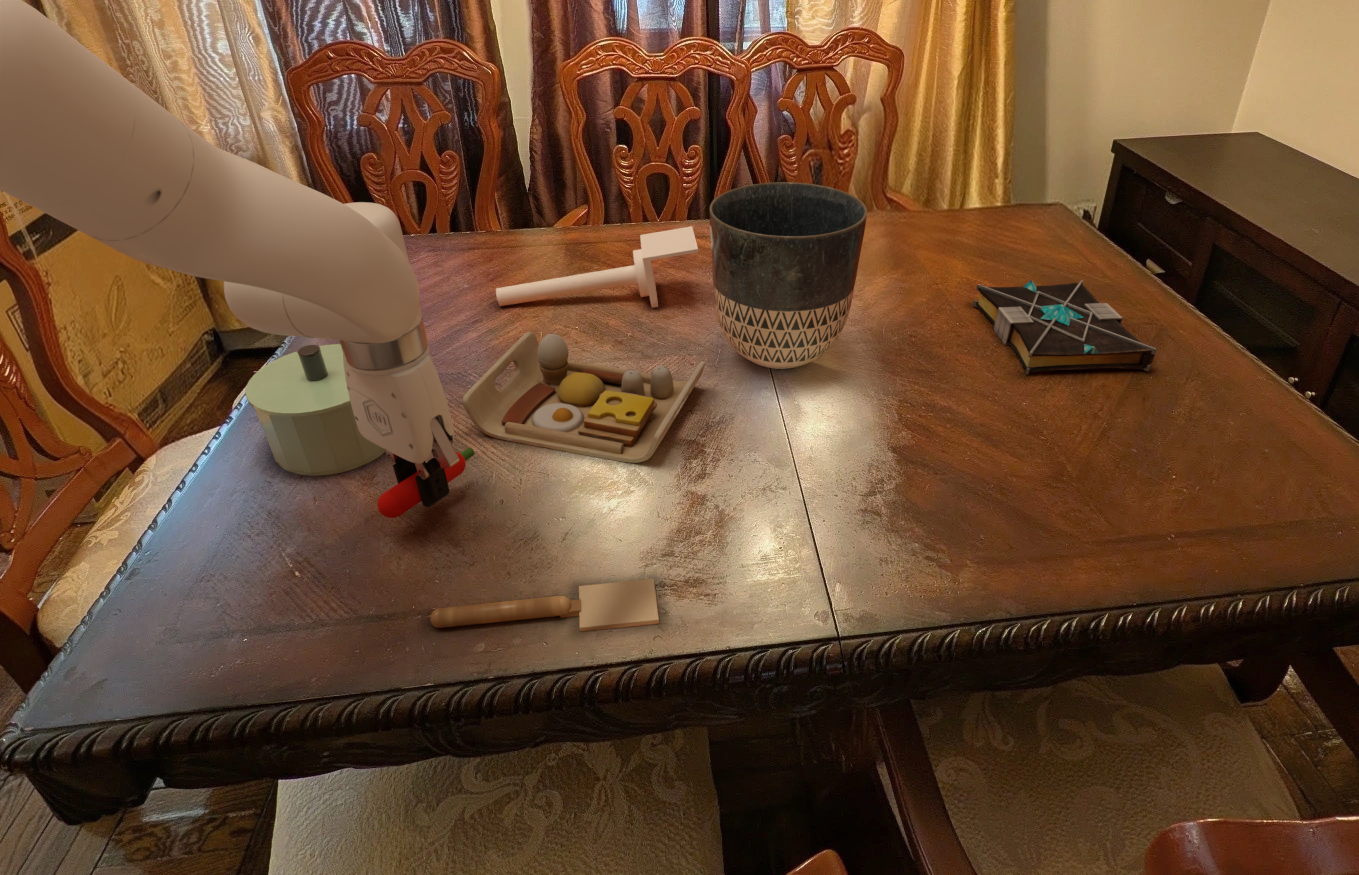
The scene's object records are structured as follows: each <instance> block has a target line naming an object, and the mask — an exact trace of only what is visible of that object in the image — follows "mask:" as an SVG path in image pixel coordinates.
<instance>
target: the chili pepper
mask: <svg viewBox="0 0 1359 875" xmlns="http://www.w3.org/2000/svg"><path fill="white" fill-rule="evenodd" d="M455 452H456V453H457V455H458V457H459V462H458V463H456V464H455V465H453V466H452V467H450V468H445V473H446V478H447V482H448V484H449V483H451V481H453V480H454V479H456V478H457V477H459V476H461V475H462V474H463V472H464V471H465V470H466V465H467V464H466V463H467V462H466V461H468V460H469V459H471V458H472V457H473V456H475V451H474V449H473V448H471V447H467V448H466V449H465V450H463V451H462V452H458V451H455ZM417 475H419V474H418V472H416V473H414V474H413V475H411V476H409V477H408V478H406V479H405V480H403V481H402V482H400V483H399V484H398V483H397V484H396V485H394V486H393V487H391V488H390V489H388V490H386V491H385V492H383V493H382V494H381V495H380V496H379V498H378V499H377V510H378V512H379V513H380V514H381V515H382V516H383V517H385V518H388V519H396V518H398V517H401V516H402V515H404V513H406V512H408V511H409V510H410V509H412V508H414V507H415V506H417V505H419V503H422V501H421V497H420V493H419V490H418V486H417V483H416V479H415V477H416V476H417Z"/></svg>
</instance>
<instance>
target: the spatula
mask: <svg viewBox="0 0 1359 875" xmlns="http://www.w3.org/2000/svg"><path fill="white" fill-rule="evenodd" d="M658 610H659V609H658V602H657V594H656V585H655V579H654V578H647V579H635V580H626V581H615V582H605V583H594V584H588V585H587V584H584V585H579V586H578V599H569V597H567V596H565V595H554V596H545V597H535V598H525V599H514V600H505V601H504V600H503V601H495V602H483V603H473V604H465V605H453V606H444V607H437V608H435V609H434V610H432V612H431V613H430V616H429V621H430V623H431V625H432V626H433V627H435V628H437V629H445V628H452V627H463V626H472V625H474V626H475V625H482V624H492V623H501V622H502V623H504V622H512V621H522V620H523V621H524V620H532V619H533V620H534V619H543V618H551V617H560V618H561V619H562V618H571V617H572V618H573V617H579V618H578V619H579V620H578V624H579V625H578V626H579V631H580V633H581V632H589V631H600V630H608V629H609V630H610V629H619V628H630V627H640V626H650V625H656V624H657V625H658V624H660V619H659V611H658Z"/></svg>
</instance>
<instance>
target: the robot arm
mask: <svg viewBox="0 0 1359 875" xmlns="http://www.w3.org/2000/svg"><path fill="white" fill-rule="evenodd" d="M0 191H1V192H4V193H5V194H7V195H9V196H11V197H13V198H15V199H16V200H19V201H21V202H23V203H25V204H27V205H29V206H30V207H33V208H34V209H37V210H39V211H41V212H42V213H44V214H46V215H48V216H50V217H52V218H54V219H55V220H58V221H59V222H62V223H64V224H65V225H66V226H67V225H68V226H69V227H71V228H73V229H75V230H77V231H79V232H81V233H83V234H85V235H87V236H88V237H91V238H92V239H94V240H96V241H98V242H100V243H101V244H104V245H106V246H107V247H109V248H111V249H113V250H115V251H116V252H118V253H120V254H123V255H125V256H127V257H129V258H131V259H133V260H135V261H139V262H141V263H145V264H148V265H151V266H154V267H158V268H162V269H165V270H169V271H173V272H176V273H180V274H184V275H187V276H191V277H192V276H193V277H197V278H201V279H208V280H212V281H213V280H214V281H220V282H223V292H224V299H225V302H226V304H227V307H228V309H229V310H230V312H231V313H232V314H233V316H234V317H235V318H236V319H237V320H238V321H240V322H241V323H242V324H243V325H245V326H247V327H248V328H251V329H253V330H256V331H258V332H261V333H266V334H271V335H278V336H287V337H298V338H299V337H300V338H309V339H310V338H311V339H325V340H335V341H338V342H339V344H340V345H341V348H342V351H343V364H344V373H345V379H346V384H347V389H348V394H349V398H350V402H351V406H352V410H353V414H354V417H355V421H356V424H357V427H358V430H359V432H360V433H361V435H362V436H363V437H365V438H366V439H367V440H369V441H371V442H372V443H374V444H376V445H378V446H380V447H382V448H384V449H385V450H386V452H385V454H386V457H387V460H388V461H390V463H391V464H393V465H392V469H393V472H394V475H395V479H396V482H397V484H399V483H400V482H402V481H403V480H405V479H406V478H408V477H409V476H411V475H413V474H414V473H416V472H418V474H419V475H417V476H416V477H415V479H416V483H417V486H418V490H419V493H420V497H421V504H422V506H423V507H425V508H427V509H428V508H431V507H433V506H434V505H435V504H436V503H438V502H439V501H441V500H442V499H443V498H445V497H446V496H448V495H449V493H450V491H451V490H450V486H449V483H448V482H447V478H446V473H445V468H450V467H452V466H453V465H455V464H456V463H458V462H459V457H458V455H457V453H456V452H457V451H456V450H455V448H454V446H453V444H454V441H455V429H454V423H453V419H452V415H451V410H450V407H449V404H448V400H447V397H446V393H445V391H444V390H445V389H444V387H443V384H442V381H441V379H440V376H439V374H438V371H437V368H436V366H435V364H434V361H433V359H432V357H431V356H432V355H430V354H429V352H430V346H429V341H428V337H427V333H426V328H425V324H424V319H423V315H422V311H421V307H420V304H421V303H420V300H421V298H420V296H421V295H420V293H421V291H420V286H419V281H418V278H417V276H416V272H415V270H414V268H413V266H412V264H411V263H410V260H409V255H408V251H407V247H406V242H405V238H404V234H403V229H402V227H401V223H400V220H399V219H398V216H397V214H396V213H395V212H394V211H393V210H391V209H390V208H389V207H388V206H386V205H383V204H380V203H375V202H366V201H357V202H347V203H343V202H341V201H339V200H337V199H335V198H333V197H331V196H329V195H326V193H322V192H320V191H318V190H316V189H313V188H311V187H309V186H308V185H305V184H302V183H300V182H297V181H296V180H293V179H291V178H288V177H287V176H284V175H282V174H280V173H277V172H276V171H273V170H271V169H269V168H267V167H265V166H263V165H260V164H259V163H256V162H254V161H251V160H249V159H247V158H244V157H242V156H240V155H237V154H235V153H232V152H229V151H227V150H224V149H222V148H220V147H218V146H215V145H214V144H212V143H211V142H209V141H208V140H206V139H205V138H204V137H202V136H200V135H199V134H198V133H197V132H195V131H194V130H193V129H191V127H189V126H188V125H186V124H185V123H184V122H183V121H181V120H180V119H179V118H178V117H176V116H175V115H173V114H172V113H171V112H170V111H168V110H167V109H166V108H165V107H163V106H162V105H161V104H159V102H157V101H155V100H154V99H153V98H151V96H150V95H148V94H147V93H145V92H144V91H143V90H141V89H140V88H139V87H138V86H136V85H135V84H134V83H132V82H131V81H130V80H128V79H127V78H126V77H124V76H123V75H122V74H121V73H119V71H117V70H116V69H114V67H112V66H111V65H109V64H108V63H107V62H105V61H104V60H103V59H101V58H100V57H99V56H98V55H96V54H95V53H94V52H93V51H91V50H90V49H88V48H87V47H86V46H84V45H83V44H82V43H80V42H79V41H78V40H76V39H75V38H74V36H72V35H70V34H69V33H68V32H67V31H65V29H63V28H62V27H61V26H59V24H57V23H55V22H53V20H51V19H50V18H48V17H47V16H46V15H44V14H43V13H42V12H40V11H39V10H38V9H37V8H35V7H33V6H32V5H30V4H28V3H27V2H25V1H24V0H0ZM431 456H432V458H431ZM428 459H429V460H428ZM427 460H428V461H427Z"/></svg>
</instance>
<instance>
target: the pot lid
mask: <svg viewBox="0 0 1359 875" xmlns="http://www.w3.org/2000/svg"><path fill="white" fill-rule="evenodd" d="M245 397H246V399H247V401H248V404H249V405H250V406H251V407H252V408H254V410H255V409H256V410H258V411H260V412H263V413H266V414H269V415H275V416H283V417H298V416H308V415H315V414H320V413H325V412H329V411H332V410H336V409H339V408H342V407H344V406H347V405H349V404H351V402H350V398H349V394H348V389H347V384H346V379H345V373H344V364H343V351H342V348H341V345H340V343H333V344H331V343H330V344H324V345H323V344H321V345H318V344H307V345H304V346H302V347H300V348H299V349H298V350H296V351H294V352H291V353H288V354H285V355H283V356H281V357H278V358H277V359H274V360H272V361H271V362H269V363H267V364H266V365H264V366H263V367H262V368H260V369H258V370H257V371H256V372H255V373H254V374H253V375H252V377H250V378H249V380H248V382H247V384H246V386H245ZM256 410H255V411H256Z"/></svg>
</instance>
